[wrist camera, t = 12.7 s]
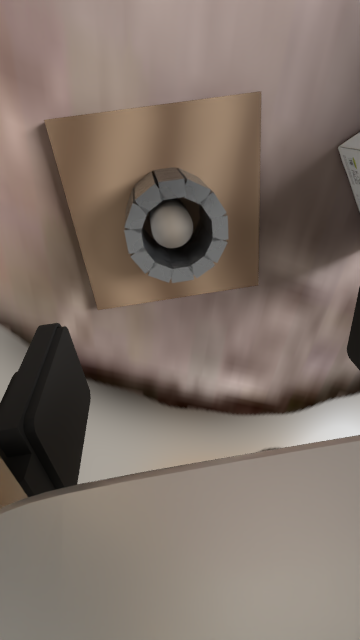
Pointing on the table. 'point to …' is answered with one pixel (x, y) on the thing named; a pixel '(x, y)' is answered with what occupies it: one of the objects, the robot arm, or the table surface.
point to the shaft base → (151, 148)
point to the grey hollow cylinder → (203, 240)
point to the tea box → (352, 164)
